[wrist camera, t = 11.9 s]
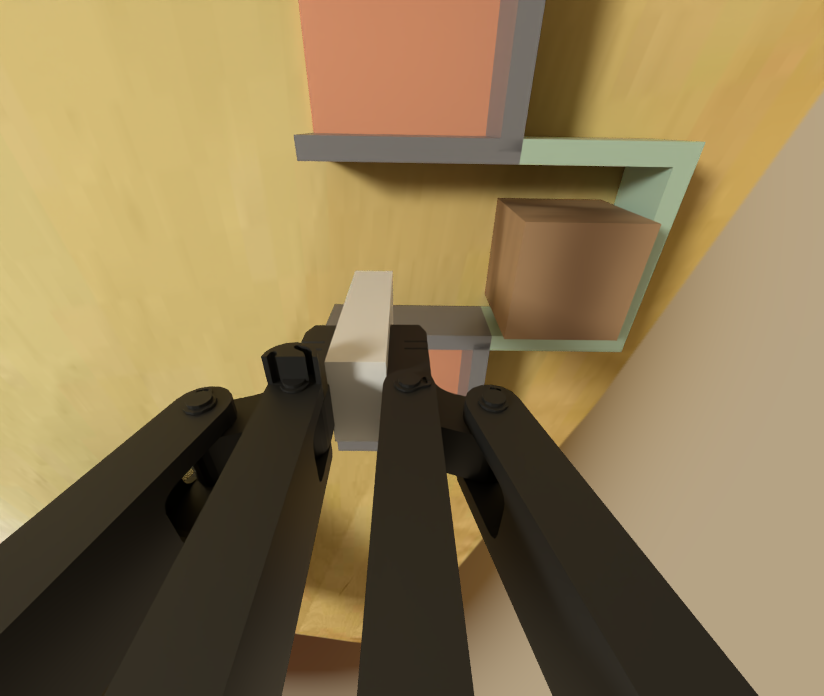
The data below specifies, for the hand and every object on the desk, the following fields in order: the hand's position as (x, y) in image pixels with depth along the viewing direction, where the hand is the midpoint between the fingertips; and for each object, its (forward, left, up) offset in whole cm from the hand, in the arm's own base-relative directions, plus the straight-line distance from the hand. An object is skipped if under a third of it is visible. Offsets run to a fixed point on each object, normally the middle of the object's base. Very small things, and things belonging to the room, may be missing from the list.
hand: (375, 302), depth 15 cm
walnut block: (+10, 0, -9) cm, 13 cm away
